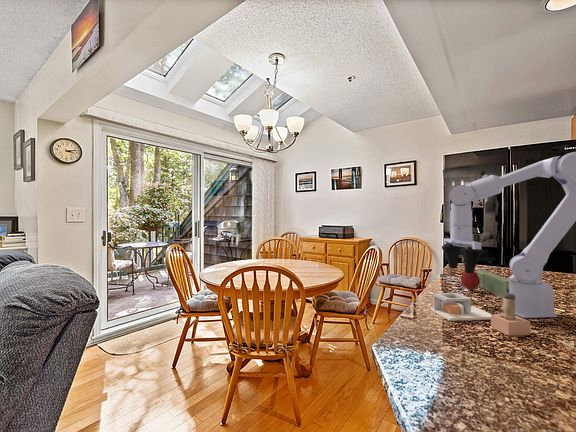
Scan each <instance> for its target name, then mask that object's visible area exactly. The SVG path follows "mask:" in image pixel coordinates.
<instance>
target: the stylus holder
mask: <svg viewBox="0 0 576 432" xmlns="http://www.w3.org/2000/svg"><path fill="white" fill-rule="evenodd" d="M490 327H491V328H492V329H495V330H496V331H499V332H501V333H502V334H505V335H507V336H511V337H512V336H529V335H531V321H530V320H528V319H526V318H523V317H520V316H518V315H515V320H512V321H509V320H506V319H504V315H503V313H500V314H499V313H497V314H496V313H495V314H492V315H491V319H490Z"/></svg>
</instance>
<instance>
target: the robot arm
mask: <svg viewBox="0 0 576 432" xmlns="http://www.w3.org/2000/svg"><path fill="white" fill-rule="evenodd" d="M537 177H538V178H547V179H550V178H551V177H553V178H554V179H555V180H557V182H559V183H560V184H561V187H562V189H563V190H564V192H565V196H564V197H563V199H562V200H561V201H560V203H559V204H558V205H557V207H556V208H555V209H554V211H553V212H552V213H551V215H550V216H549V218H548V219H547V220H546V221H545V222H544V224H543V225H542V226H541V228H540V229H539V231H538V232H537V233H536V234H535V236H534V237H533V239H532V240H531V242H530V243H529V244H528V245H527V246H526V247H525V248H523V250H522V251H521V252H520V253H519V254H517V255H515V256H513V257H512V258H511V259H510V261H509V264H508V265H509V269H510V271H511V273H512V274H511V276H509V277H508V279H509V294H514V295H515V316H518V317H520V318H523V319H533V318H534V319H537V318H538V319H539V318H557V317H558V315H557V314H555V292H554V289H553V287H552V286H551V284H550V283H548V282H546V281H543V279H541V278H542V276H543V271H544V267H545V265H546V264H547V263H548V259H549V257H550V254H551V253H552V252H553V251H554V249H555V248H556V247H557V246H558V244H559V243H560V242H561V240H562V239H563V238H564V237H565V235H566V234H567V233H568V231H570V229H571V228H572V226H573V225H574V224H575V222H576V151H573V152H569V153H566V154H564V155H563V156H561V155H559V156H554V157H550V158H547V159H543V160H540V161H537V162H535V163H532V164H529V165H527V166H525V167H522V168H519V169H517V170H514V171H511V172H509V173H506V174H503V175H501V176H498V175H495V174H490V175H488V174H484V175H482V177H481V178H479V179H477V180H474V181H472V182H468V181H467V182H464V185H462V184H459V185H457V186H455V187H454V188H453V189H452V190H451V191H450V193H449V199H450V201H451V203H450V211H449V212H450V215H449V217H450V219H449V221H450V225H449V226H450V234H449V235H450V236H449V237H450V238H448V237H447V238H446V237H445V238H443V245H441V249H442V250H443V252H444V255H445V257H446V259H447V264H448V267H449V269H458V267H459V256H460V252H461V255H462V259H463V263H464V266H463V267H464V273H465V272H466V273H474V272H475V270H476V267H477V263H478V261H479V259H480V258H481V256H482V254H483V253H484V250H483V249H482V242H480V241H474V240H473V211H472V201H480V200H483V199H487V198H489V197H492V196H494V195H495V196H496V195H499V194H501V193H502V191H503V189H504V188H505V187H507V186H511V185H514V184H518V183H521V182H523V181H526V180H527V181H528V180H530V179H533V178H537ZM500 308H501V309H500V310H503V306H501V307H500Z"/></svg>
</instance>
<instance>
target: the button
mask: <svg viewBox="0 0 576 432" xmlns="http://www.w3.org/2000/svg"><path fill="white" fill-rule="evenodd" d="M444 311H445V312H447V313H449V314H460V306H458V305H456V304H454V303H450V304H444Z"/></svg>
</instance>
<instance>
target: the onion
mask: <svg viewBox="0 0 576 432" xmlns="http://www.w3.org/2000/svg"><path fill="white" fill-rule="evenodd" d="M460 281H461V284H462V285H463V287H464V288H466V289H467V290H468V291H473V290H474V289H476V288H477V287H479V286H478V285H479V283H480V279H479V277H478V275H477V273H476V272H475V271H474V273H466V272H465V271H464V272H463V274H462V275H461V276H460Z"/></svg>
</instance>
